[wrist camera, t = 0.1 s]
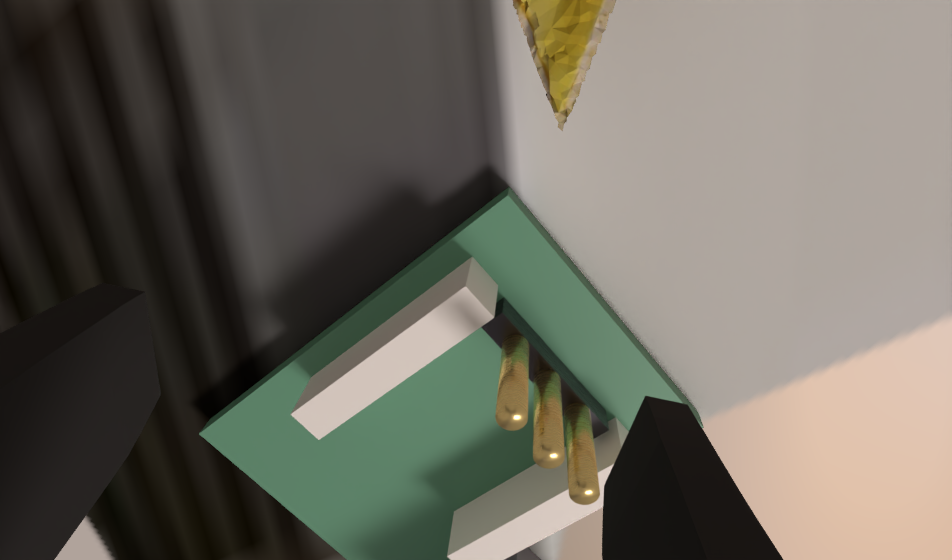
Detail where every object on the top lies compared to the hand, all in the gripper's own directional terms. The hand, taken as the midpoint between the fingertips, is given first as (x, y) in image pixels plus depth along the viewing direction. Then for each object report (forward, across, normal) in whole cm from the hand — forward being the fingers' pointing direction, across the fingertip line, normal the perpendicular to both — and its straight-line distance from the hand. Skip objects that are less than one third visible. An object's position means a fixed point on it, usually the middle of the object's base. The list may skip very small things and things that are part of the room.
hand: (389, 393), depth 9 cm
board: (+9, -1, +10) cm, 13 cm away
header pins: (+10, -4, +6) cm, 12 cm away
